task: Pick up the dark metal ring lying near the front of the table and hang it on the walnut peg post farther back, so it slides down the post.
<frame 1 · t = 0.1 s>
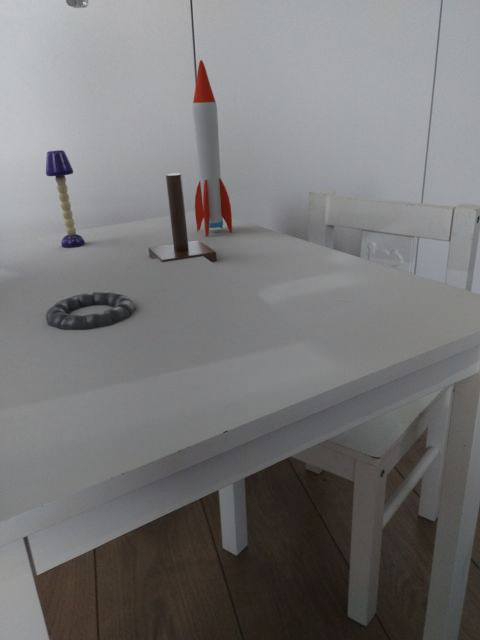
hand: (59, 1, 53), 33 cm above the table, tool pointing down, fingers open, 8 cm apart
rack: (182, 258, 95), on the table
toy lamp: (73, 245, 107), on the table
toy rocket: (214, 232, 111), on the table
ring: (91, 312, 70), point 1 cm above the table
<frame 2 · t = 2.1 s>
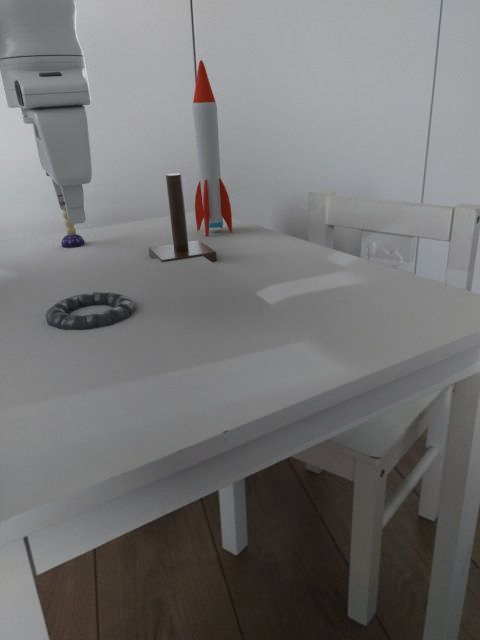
hand: (72, 215, 68), 12 cm above the table, tool pointing down, fingers open, 8 cm apart
nothing on the table moved.
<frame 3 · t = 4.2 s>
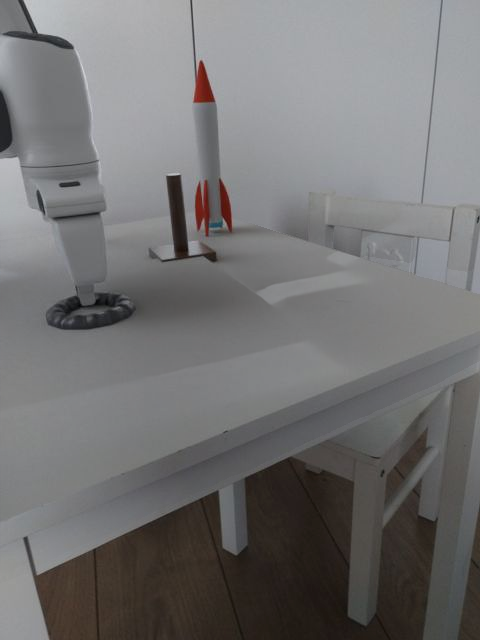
hand: (85, 299, 73), 2 cm above the table, tool pointing down, fingers closed on ring, 2 cm apart
ring: (91, 312, 70), point 1 cm above the table, touching gripper
everything else where it was.
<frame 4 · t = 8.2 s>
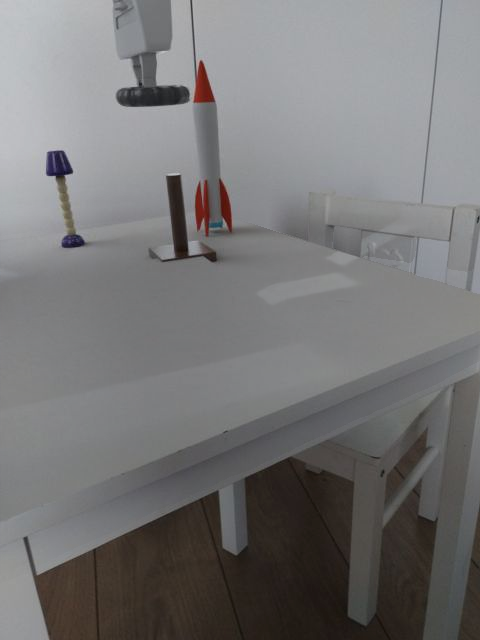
hand: (147, 91, 84), 25 cm above the table, tool pointing down, fingers closed on ring, 2 cm apart
ring: (154, 95, 81), point 25 cm above the table, touching gripper
everything else where it was.
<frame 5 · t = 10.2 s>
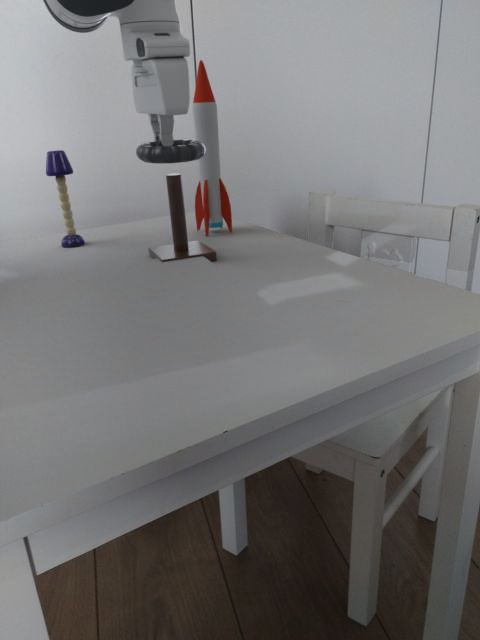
hand: (163, 145, 91), 18 cm above the table, tool pointing down, fingers closed on ring, 2 cm apart
ring: (171, 151, 88), point 17 cm above the table, touching gripper
everything else where it was.
when the fingers open (12 cm above the table, at t = 12.0 s): ring drops 5 cm, point 6 cm above the table.
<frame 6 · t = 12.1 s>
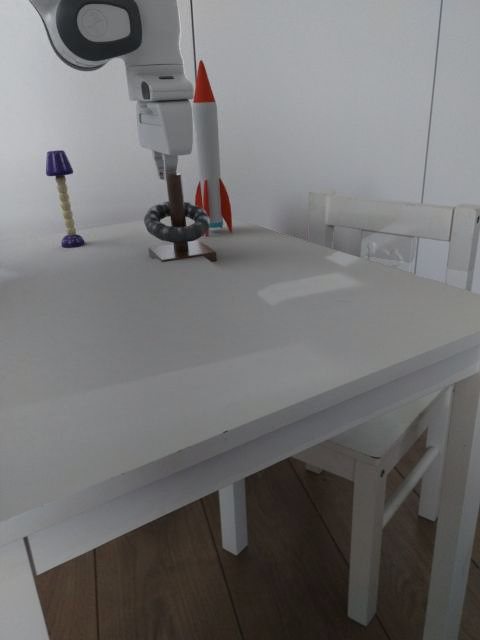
hand: (167, 180, 93), 12 cm above the table, tool pointing down, fingers open, 3 cm apart
ring: (177, 221, 92), point 6 cm above the table, tilted 20°
everything else where it was.
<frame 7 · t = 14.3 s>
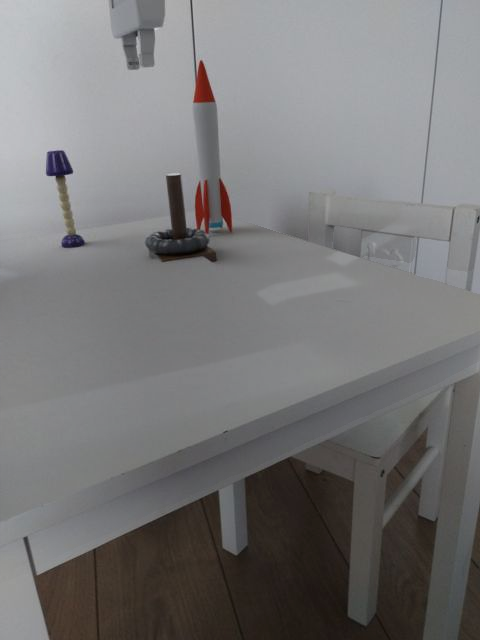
hand: (140, 68, 87), 29 cm above the table, tool pointing down, fingers open, 8 cm apart
ring: (177, 241, 95), point 3 cm above the table, touching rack
everything else where it was.
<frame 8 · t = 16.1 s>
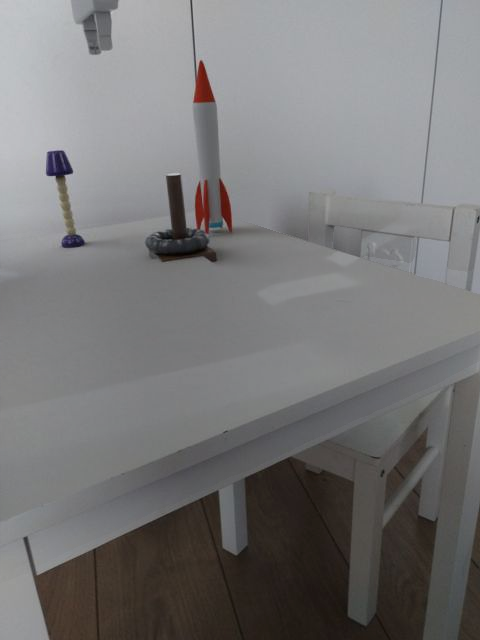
hand: (100, 52, 87), 31 cm above the table, tool pointing down, fingers open, 8 cm apart
nothing on the table moved.
at the end: ring 1.2 cm from the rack (horizontally); ring point 2.7 cm above the table; the gripper is holding nothing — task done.
